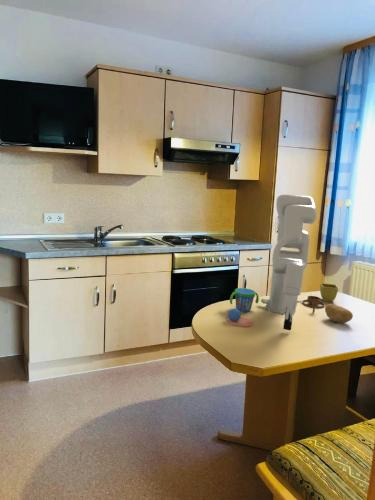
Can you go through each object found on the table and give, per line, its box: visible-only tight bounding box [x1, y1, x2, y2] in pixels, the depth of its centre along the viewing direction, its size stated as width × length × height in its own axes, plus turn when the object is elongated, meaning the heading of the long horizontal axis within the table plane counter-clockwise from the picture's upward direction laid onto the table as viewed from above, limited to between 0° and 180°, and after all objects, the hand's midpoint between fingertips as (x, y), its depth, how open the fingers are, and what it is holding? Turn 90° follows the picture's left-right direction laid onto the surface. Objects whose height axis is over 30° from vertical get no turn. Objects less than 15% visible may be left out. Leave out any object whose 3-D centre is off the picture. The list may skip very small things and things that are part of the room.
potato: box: [324, 303, 354, 324], centre depth 202 cm, size 10×14×8 cm
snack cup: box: [229, 287, 260, 313], centre depth 209 cm, size 16×10×10 cm
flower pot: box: [319, 282, 339, 303], centre depth 238 cm, size 9×9×9 cm
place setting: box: [297, 295, 326, 314], centre depth 225 cm, size 18×20×6 cm
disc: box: [225, 316, 255, 328], centre depth 193 cm, size 13×13×1 cm
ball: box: [227, 308, 242, 322], centre depth 192 cm, size 6×6×6 cm
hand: (287, 329), depth 183 cm, fingers closed
